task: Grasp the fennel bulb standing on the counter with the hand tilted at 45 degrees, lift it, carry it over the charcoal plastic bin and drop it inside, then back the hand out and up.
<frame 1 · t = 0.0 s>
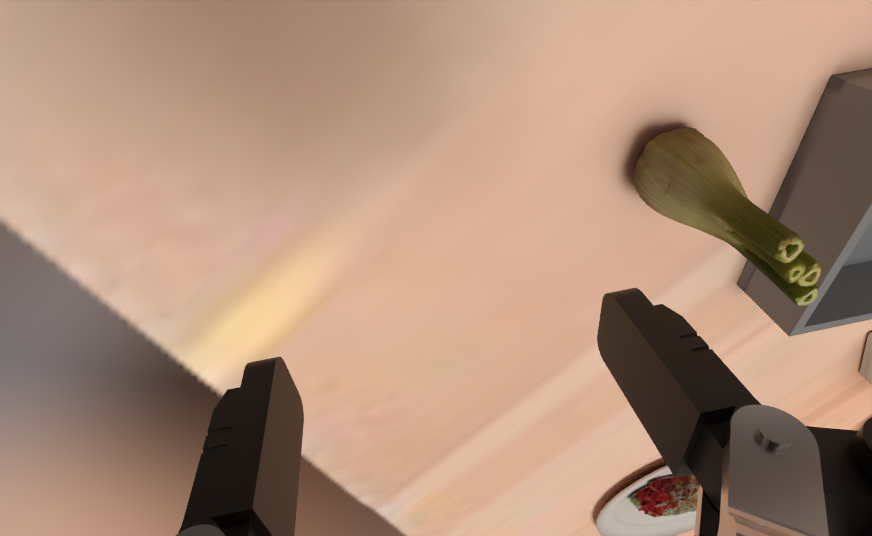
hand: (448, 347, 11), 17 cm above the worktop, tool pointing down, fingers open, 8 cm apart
fennel bulb: (658, 158, 30), on the worktop
plated food: (686, 484, 69), on the worktop
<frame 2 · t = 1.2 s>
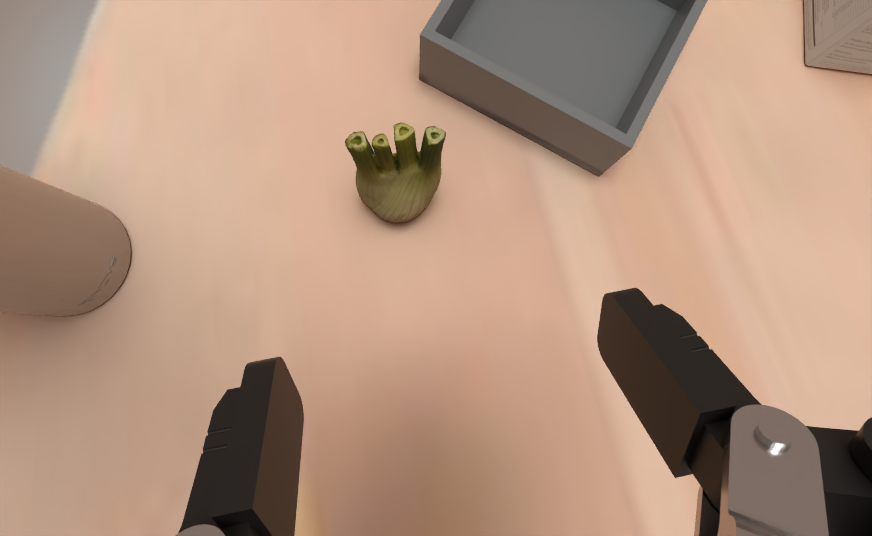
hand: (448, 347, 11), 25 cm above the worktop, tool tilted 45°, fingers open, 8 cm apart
supplement box: (848, 28, 43), on the worktop
fennel bulb: (399, 199, 38), on the worktop
bin: (554, 46, 41), on the worktop
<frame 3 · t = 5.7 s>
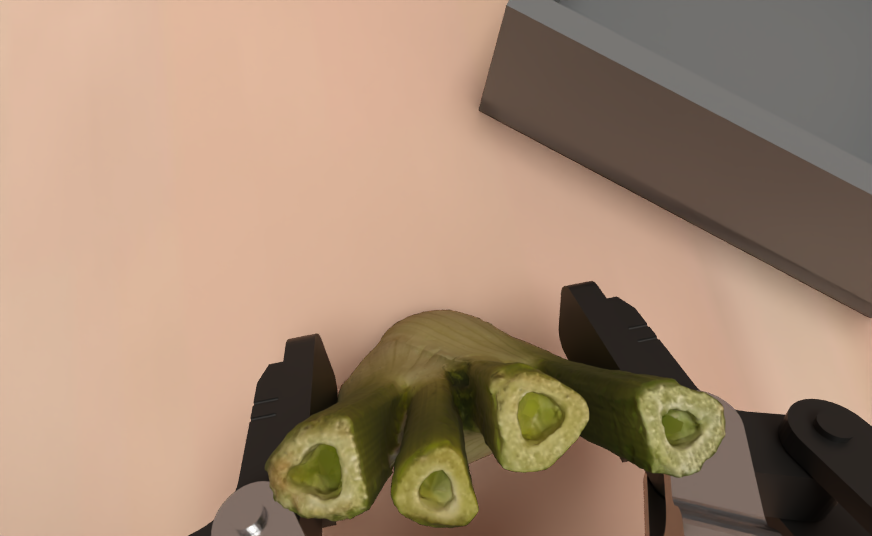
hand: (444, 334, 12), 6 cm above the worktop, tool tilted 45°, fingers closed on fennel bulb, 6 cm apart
fennel bulb: (440, 379, 17), on the worktop, touching gripper
bin: (753, 39, 20), on the worktop
when the fingers open (9 cm above the worktop, at t = 12.6 s): fennel bulb drops 3 cm, resting on bin.
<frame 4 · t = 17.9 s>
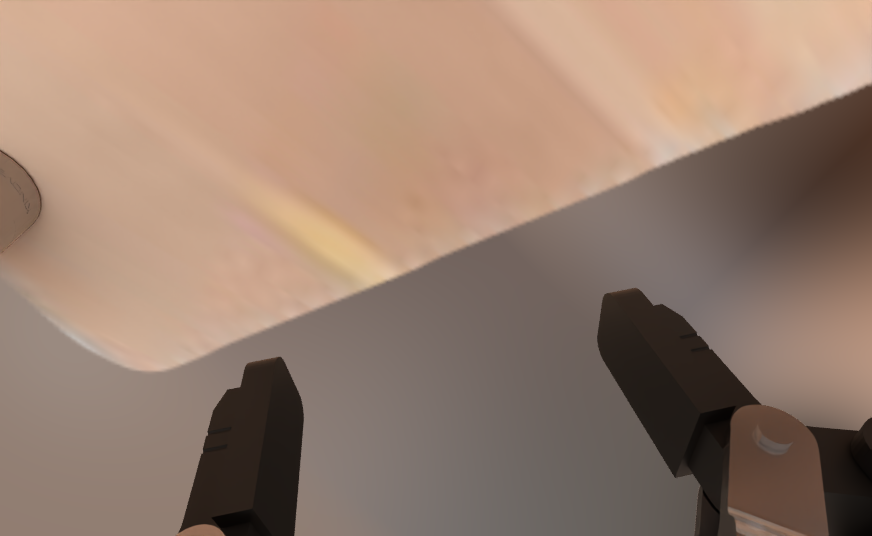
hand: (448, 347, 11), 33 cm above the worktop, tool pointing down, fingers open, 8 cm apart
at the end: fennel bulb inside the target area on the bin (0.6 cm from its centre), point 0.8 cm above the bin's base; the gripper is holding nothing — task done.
